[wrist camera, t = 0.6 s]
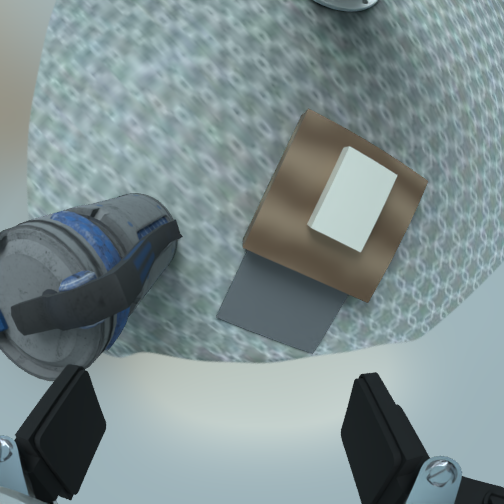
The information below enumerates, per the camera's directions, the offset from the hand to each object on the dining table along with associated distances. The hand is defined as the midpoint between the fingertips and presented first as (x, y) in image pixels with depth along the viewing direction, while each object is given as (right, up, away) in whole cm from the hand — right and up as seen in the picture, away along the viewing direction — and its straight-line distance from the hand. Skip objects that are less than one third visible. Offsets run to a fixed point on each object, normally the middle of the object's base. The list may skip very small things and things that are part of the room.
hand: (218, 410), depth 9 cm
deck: (+11, +11, +26) cm, 30 cm away
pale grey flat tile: (+11, +11, +22) cm, 27 cm away
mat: (+5, -1, +29) cm, 29 cm away
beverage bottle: (-12, +8, +26) cm, 30 cm away
